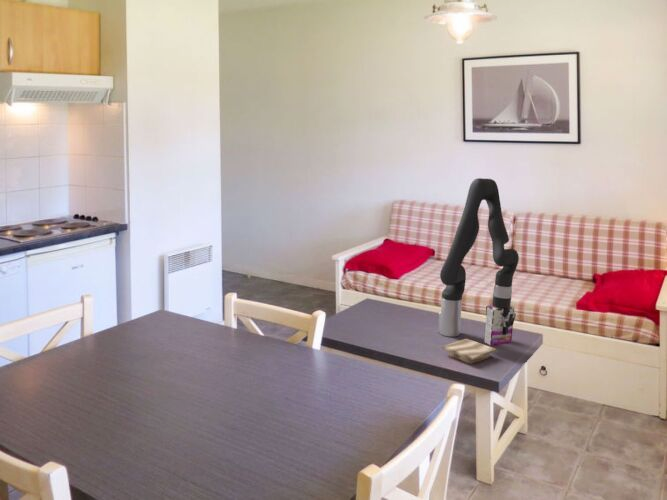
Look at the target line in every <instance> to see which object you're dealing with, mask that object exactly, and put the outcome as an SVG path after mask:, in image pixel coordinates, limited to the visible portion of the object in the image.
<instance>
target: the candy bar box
mask: <svg viewBox="0 0 667 500" xmlns="http://www.w3.org/2000/svg"><path fill="white" fill-rule="evenodd" d="M488 306H489V307H487V316H485V317H486V319H485V330H484V332H485V333H484V343H485V345H487V346H489V347H492V346H499V345H507V344H512V341H513V340H512V338H513V328H514V327H513V326H514V325H513V326H510V327H508V333H507V334H506V335H503V334H502V333H503V327H504V325H503V322H502V321H501V319H502V315H501V314H503V310H504V309H503V308H499V307H495V306H493V305H491V306H490V305H488ZM509 310H510V312H511V313H515V307H514V306H512V305H511V304H510V308H509ZM507 317H508V318H509V315H508V316H507ZM507 317H505V318H504V319H507Z"/></svg>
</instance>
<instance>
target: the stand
mask: <svg viewBox="0 0 667 500" xmlns="http://www.w3.org/2000/svg"><path fill="white" fill-rule="evenodd" d="M441 347H442V348H441V349H443V350H446V351H447V352H448V356H449V355H450V357H451V356H452V358H454V357H455V358H454V359H456V360H459V361H461V362H462V361H463V362H464V363H466V364H470V365H472V364H475V363H478V362H481V361H484V360H486V359H489V358H490V354H493V353H495V352H497V348H495V347H492V346H490V345H487V344H484V343H480V342H478V341H475V340H472V339H469V338H464V339H461V340H457V341H454V342H451V343H447V344H445V345H443V346H441Z"/></svg>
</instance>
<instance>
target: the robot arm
mask: <svg viewBox="0 0 667 500" xmlns="http://www.w3.org/2000/svg"><path fill="white" fill-rule="evenodd" d="M483 201H485V202H486V204H487V207H488V221H487V222H488V223H487V229H488V232H489V236H490V239H491V242H492V258H493V261H494V263H495V264H496V265H497V266H498V267H502V268H501V269H500V270H498V271H496V273H495V281H494V286H493V293H492V305H491V304H490V305H487V306H485V310H486V311H485V313H486V314H485V315H486V316H487V307H489V306H495V307H499V308H503V309H504V310H503V314H501V315H502V319H501V321H502V322H503V325H504V327H503V333H502V334H503V335H506V334H507V333H508V327H510V326H514V323H515V318H516V315H517V314H516V313H515V312H514V313H511V312H510V310H509V308H510V305H511V303H512V294H513V288H512V287H513V278H514V275H515V272H516V269H517V267H518V264H519V260H520V259H519V257H520V256H519V254H518V253H519V252H518V251H517V250H516V249H514V248H507V249H506V248H505V245H506V244H508V243H509V241H510V238H509V234H508V231H507V228H506V224H505V222H504V217H503V212H502V204H501V199H500V193H499V187H498V184H497V182H496V181H495V180H494V179H492V178H482V177H481V178H480V177H478V178H475V179H473V180H472V182H471V183H470V186H469V188H468V191H467V196H466V200H465V203H464V208H463V211H462V213H461V218H460V220H459V223H458V226H457V229H456V231H455V235H454V238H453V240H452V244H451V246H450V249H449V252H448V255H447V257H446V260H445V261H444V263H443V265H442V268H441V270H440V274H439V276H440V281H441V283H442V284H443V285H445V288H444V289H443V290H442V292H441V304H440V305H441V306H440V312H439V313H438V322H437V323H438V324H437V325H438V326H437V333H439V334H440V335H442V336H443V337H449V338H450V337H458V336H460V333H461V320H462V304H463V303H462V302H463V295H464V293H465V288H466V278H467V273H466V272H467V271H466V269H465V266H463V265H462V263H463V261H464V258H465V257H466V256H467V255H468V253H469V252H470V251H471V249H472V248H473V246H474V244H475V242H476V240H477V237H478V234H479V231H480V222H479V220H480V219H479V209H480V206H481V203H482V202H483ZM508 315H509V318H508V317H507V316H508ZM486 316H485V317H486ZM505 317H507V319H504V318H505Z"/></svg>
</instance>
